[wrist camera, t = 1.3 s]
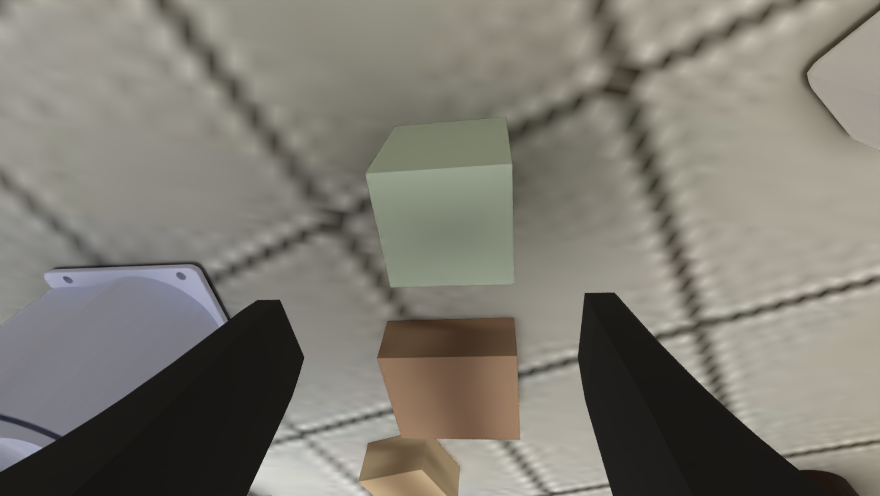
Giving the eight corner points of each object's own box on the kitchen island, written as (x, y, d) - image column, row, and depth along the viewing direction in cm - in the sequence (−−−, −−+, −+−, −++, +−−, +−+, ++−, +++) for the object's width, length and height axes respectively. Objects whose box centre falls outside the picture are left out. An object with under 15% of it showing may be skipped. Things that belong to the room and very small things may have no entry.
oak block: (403, 474, 32) (396, 515, 30) (369, 440, 30) (358, 481, 28) (459, 463, 31) (457, 506, 28) (427, 426, 28) (421, 469, 26)
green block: (411, 220, 19) (390, 287, 15) (395, 125, 17) (364, 173, 13) (507, 216, 19) (514, 284, 14) (505, 116, 16) (511, 163, 12)
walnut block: (409, 395, 27) (401, 438, 24) (388, 317, 23) (377, 358, 21) (516, 395, 26) (520, 439, 23) (513, 313, 22) (517, 355, 20)
